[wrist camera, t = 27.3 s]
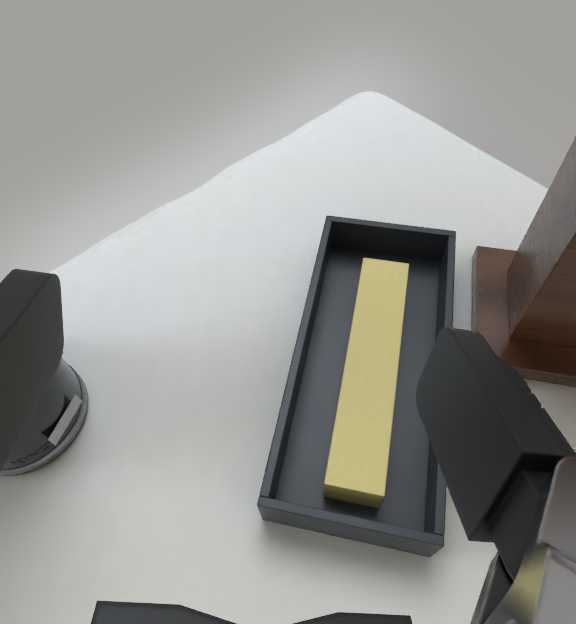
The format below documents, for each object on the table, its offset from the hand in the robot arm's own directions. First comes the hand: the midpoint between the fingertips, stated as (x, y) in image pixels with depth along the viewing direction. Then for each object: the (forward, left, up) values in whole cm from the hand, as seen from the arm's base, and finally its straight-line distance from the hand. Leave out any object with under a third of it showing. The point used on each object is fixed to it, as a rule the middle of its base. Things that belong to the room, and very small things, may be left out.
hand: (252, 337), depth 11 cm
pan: (-5, +13, -27) cm, 30 cm away
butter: (-5, +12, -26) cm, 29 cm away
